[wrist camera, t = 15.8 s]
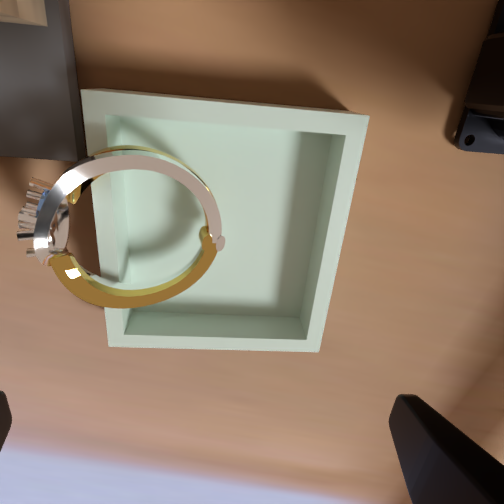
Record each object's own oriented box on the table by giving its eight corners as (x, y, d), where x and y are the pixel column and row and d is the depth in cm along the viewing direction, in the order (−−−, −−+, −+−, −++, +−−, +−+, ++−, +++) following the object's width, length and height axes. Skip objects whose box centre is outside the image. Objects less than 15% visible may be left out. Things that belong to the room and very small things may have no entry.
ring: (231, 155, 16) (25, 120, 13) (251, 182, 13) (0, 146, 10) (203, 279, 19) (33, 274, 16) (215, 319, 17) (17, 322, 14)
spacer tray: (350, 111, 16) (369, 115, 14) (309, 323, 21) (318, 352, 19) (102, 88, 15) (80, 89, 13) (121, 317, 20) (108, 346, 18)
